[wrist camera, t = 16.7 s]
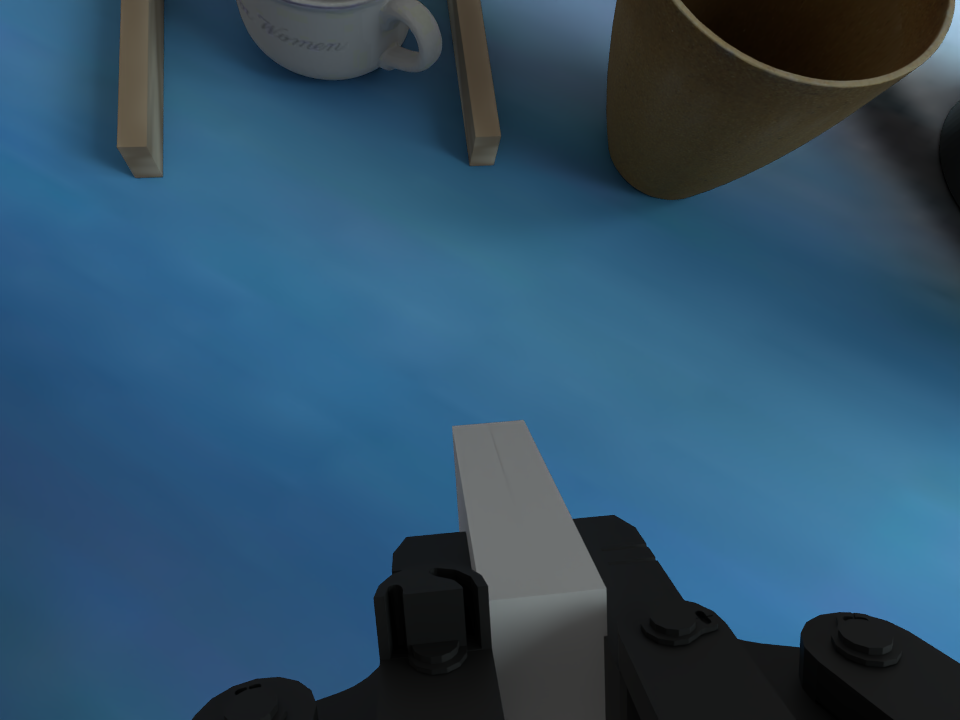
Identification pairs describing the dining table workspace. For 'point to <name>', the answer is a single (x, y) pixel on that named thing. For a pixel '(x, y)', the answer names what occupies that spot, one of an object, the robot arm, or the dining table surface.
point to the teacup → (342, 35)
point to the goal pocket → (146, 75)
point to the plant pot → (748, 80)
